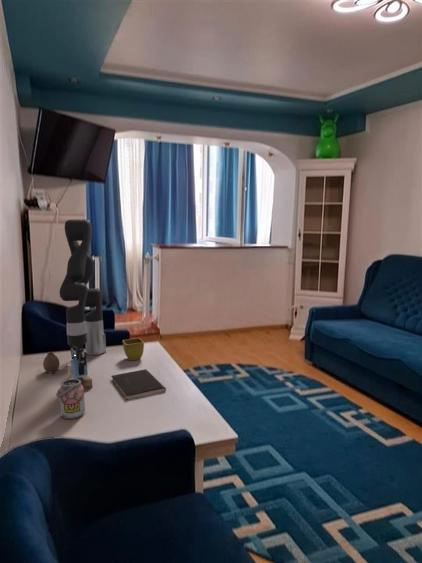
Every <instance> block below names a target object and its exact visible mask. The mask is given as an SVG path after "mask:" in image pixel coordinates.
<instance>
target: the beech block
mask: <svg viewBox="0 0 422 563" xmlns="http://www.w3.org/2000/svg"><path fill="white" fill-rule="evenodd" d="M67 375H68V379H69V378H73V377H74V376H73V375H72V371H71V363H68V364H67Z"/></svg>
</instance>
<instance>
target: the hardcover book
mask: <svg viewBox="0 0 422 563" xmlns="http://www.w3.org/2000/svg"><path fill="white" fill-rule="evenodd" d="M110 376H111V378H112V379H111V380H112V381H113V382H114V384H115V383H116V384H115V385H116V386H117V388H118V387H119V388H118V389H119V390H120V392H121V391H122V392H121V393H122V394H123V395H125V396H124V397H125V398H126V400H127V399H128V400H132V399H135V398H136V397H137V398H139V397H141V398H142V397H145V396H150V395H155V394H157V393H158V394H159V393H164V392H166V391H167V388H166V387H165V386H164V385H163V384H162V383H161V382H160V381H159V380H158V379H157V378H156V377H155V376H154V374H152V373H150V371H148V369H146V368H145V369H140V370H135V371H134V370H133V371H129V372H123V373H118V374H113V375H110ZM131 398H132V399H131ZM137 398H136V399H137Z"/></svg>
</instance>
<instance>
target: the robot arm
mask: <svg viewBox="0 0 422 563" xmlns="http://www.w3.org/2000/svg"><path fill="white" fill-rule="evenodd" d="M64 233H65V238H66V241H67V244H68V247H69V251H70V255H71V256H70V257H69V259H68V260H67V261H68V262H67V267H66V275H65V277H64V280H63V282H62V283H61V286H60V288H59V292H58V293H59V297H60V299H61V300H62V301H64V302H76V301H78V303H77V304H76V305H72V306H69V307H67V308H66V309H65V315H66V317H65V318H66V337H67V345H68V346H69V348H70V354H71V360H75V359H76V361H77V362H78V370H79V375H84V374H85V370H84V365H86V361H87V355H88V356H89V355H90V356H96V355H98V356H99V355H101V354H103V353H106V352H107V347H106V346H107V345H106V334H105V333H104V320H103V318H104V316H103V293H102V290H101V288H97V287H95V288H88V283H89V282H90V281H91V279H92V278H93V276H94V274H95V265H94V260H93V257H92V256H91V255H90V254H89V249H90V246H91V242H92V239H93V238H92V237H93V226H92V222H91V221H90V220H89V219H83V218H82V219H67V220H66V221H65V223H64ZM79 242H80V244H79ZM94 307H95V308H94ZM85 308H94V309H93V310H91V311H90V312H86V313H85V310H86V309H85ZM84 345H85V347H84ZM81 362H83V363H81Z"/></svg>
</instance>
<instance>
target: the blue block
mask: <svg viewBox="0 0 422 563" xmlns="http://www.w3.org/2000/svg"><path fill="white" fill-rule="evenodd" d="M81 363H83V362H81ZM70 364H71V371H72V375H73V376H74V377H75V378H78V377H83V376H88V361H87V360H86V365H84V370H85V374H84V375H79V370H78V362H77V361H76V359H75V360H72V359H71V360H70Z"/></svg>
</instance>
